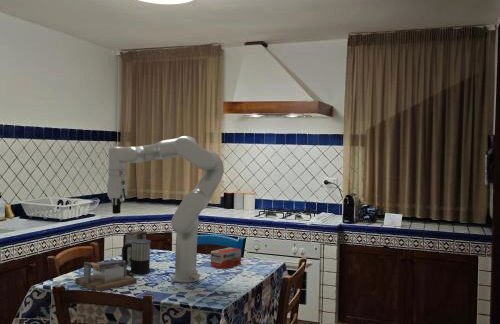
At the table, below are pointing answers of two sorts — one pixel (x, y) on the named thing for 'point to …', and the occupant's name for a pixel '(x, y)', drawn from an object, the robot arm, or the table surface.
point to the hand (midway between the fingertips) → (116, 213)
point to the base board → (105, 283)
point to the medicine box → (225, 258)
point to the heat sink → (105, 272)
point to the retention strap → (107, 263)
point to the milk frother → (137, 256)
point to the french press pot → (133, 236)
